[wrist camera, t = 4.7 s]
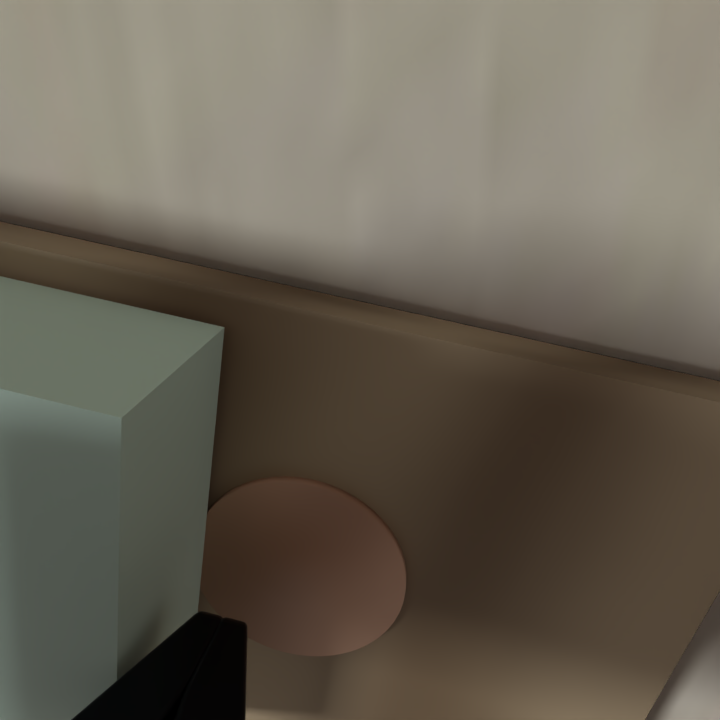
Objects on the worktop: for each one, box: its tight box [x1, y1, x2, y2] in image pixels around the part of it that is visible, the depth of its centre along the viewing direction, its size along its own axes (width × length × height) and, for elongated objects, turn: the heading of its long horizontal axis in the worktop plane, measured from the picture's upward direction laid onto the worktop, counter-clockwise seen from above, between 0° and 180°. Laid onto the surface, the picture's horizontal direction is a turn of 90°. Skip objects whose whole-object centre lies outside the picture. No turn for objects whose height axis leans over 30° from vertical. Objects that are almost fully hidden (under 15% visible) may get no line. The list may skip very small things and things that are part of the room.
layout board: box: [0, 222, 720, 720], centre depth 11 cm, size 20×10×1 cm, turn 79°
